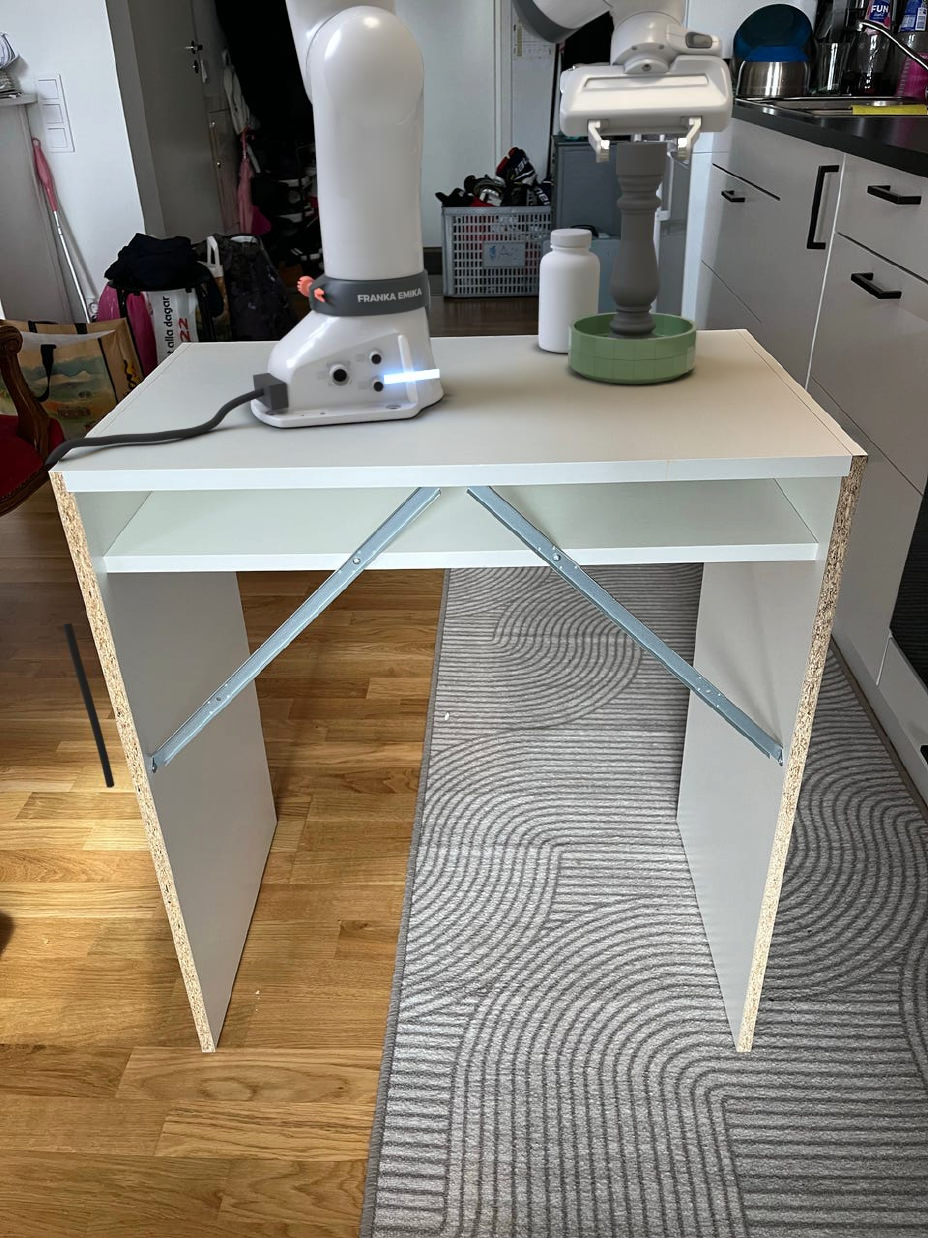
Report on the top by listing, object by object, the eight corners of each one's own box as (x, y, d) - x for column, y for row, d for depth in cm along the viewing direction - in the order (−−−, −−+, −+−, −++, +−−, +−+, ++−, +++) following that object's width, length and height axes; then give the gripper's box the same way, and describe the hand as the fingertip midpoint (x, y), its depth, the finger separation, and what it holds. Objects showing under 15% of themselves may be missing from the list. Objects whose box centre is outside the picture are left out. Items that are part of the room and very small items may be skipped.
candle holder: (654, 369, 120) (669, 143, 108) (603, 368, 121) (612, 144, 109) (656, 357, 125) (670, 140, 113) (607, 356, 126) (616, 141, 114)
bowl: (604, 392, 115) (606, 345, 112) (548, 362, 127) (548, 319, 125) (718, 376, 119) (722, 330, 117) (653, 349, 132) (655, 307, 129)
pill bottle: (599, 353, 131) (604, 234, 123) (539, 355, 131) (541, 236, 124) (593, 339, 138) (598, 225, 130) (536, 341, 138) (537, 227, 131)
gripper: (559, 44, 117) (553, 140, 113) (735, 36, 114) (734, 134, 110) (561, 86, 123) (555, 178, 119) (728, 79, 120) (727, 174, 116)
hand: (642, 157), depth 115 cm, fingers open, 8 cm apart
